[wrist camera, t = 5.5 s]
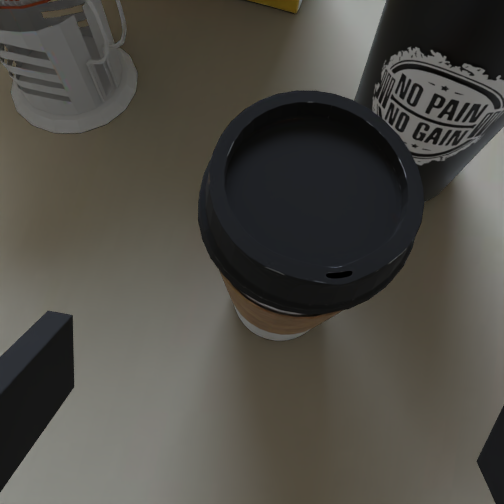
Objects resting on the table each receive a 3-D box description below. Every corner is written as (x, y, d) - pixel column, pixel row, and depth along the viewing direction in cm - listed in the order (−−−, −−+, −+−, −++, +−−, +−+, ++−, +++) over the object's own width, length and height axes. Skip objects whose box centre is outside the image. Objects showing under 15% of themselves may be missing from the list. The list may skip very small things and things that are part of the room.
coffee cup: (221, 370, 27) (202, 310, 13) (207, 243, 30) (181, 83, 16) (354, 352, 27) (477, 277, 13) (328, 230, 30) (406, 65, 16)
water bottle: (307, 179, 32) (451, -324, 10) (359, 82, 35) (547, -445, 14) (439, 239, 30) (922, -200, 9) (480, 132, 34) (898, -370, 12)
